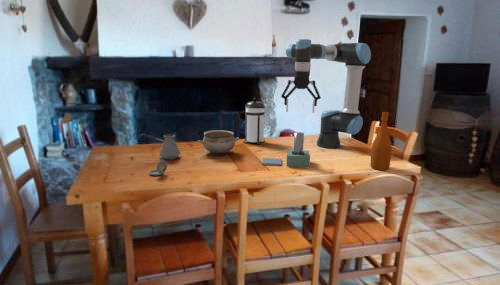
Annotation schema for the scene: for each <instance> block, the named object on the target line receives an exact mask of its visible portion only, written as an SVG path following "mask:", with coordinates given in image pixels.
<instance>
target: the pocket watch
mask: <svg viewBox="0 0 500 285" xmlns="http://www.w3.org/2000/svg"><path fill="white" fill-rule="evenodd" d="M162 156H163V155H162ZM163 157H164V156H163ZM163 157H161V156H159V159H160V160H159V161H158V162H157V165H156V170H155V169H154V170H151V171H150V172H149V175H151V176H154V177H155V176H161V175H164V174H165V172H166V171H167V169H168V163H167V161H166V160H165V159H164V158H163Z"/></svg>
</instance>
